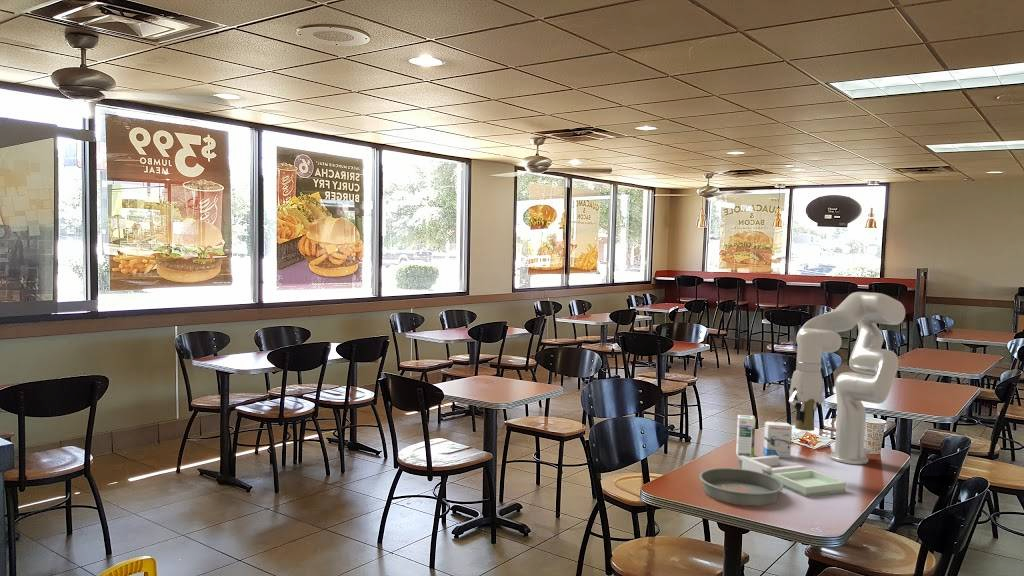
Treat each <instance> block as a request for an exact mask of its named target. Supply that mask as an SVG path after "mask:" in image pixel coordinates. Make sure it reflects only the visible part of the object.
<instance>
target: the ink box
mask: <svg viewBox="0 0 1024 576" xmlns="http://www.w3.org/2000/svg"><path fill="white" fill-rule="evenodd" d="M792 427H793V426H792V425H791V424H789V423H788V422H779V421H766V422H764V435H763V436H764V437H763V454H764V456H771V455H776V456H779V458H789V459H791V451H792V432H793V431H792V430H793V429H792Z"/></svg>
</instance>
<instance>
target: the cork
mask: <svg viewBox="0 0 1024 576" xmlns="http://www.w3.org/2000/svg"><path fill="white" fill-rule="evenodd" d="M799 404H800V405H801V403H799ZM804 404H805V405H804V412H805V417H804V423H802V420H799V421H798V420H797V422H795V426H794V428H795V429H796V430H800V431H805V432H806V431H807V432H808V431H809V432H812V431H815V417H814V418H813V406H814V404H815V401H814V399H809V400H808V401H807V402H804Z"/></svg>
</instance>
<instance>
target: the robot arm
mask: <svg viewBox="0 0 1024 576" xmlns="http://www.w3.org/2000/svg"><path fill="white" fill-rule="evenodd" d="M905 317H906V309H905V307H904V305H903V304H902V302H901V301H899V300H898V299H895V298H894V297H891V296H890V295H887V294H884V293H879V292H867V291H856V292H852V293H850V294H849V295H848V296H847V297H846V298H845V299H844V300H843V301H842V302H841V303H839V305H837V307H835V309H834V310H832V311H828V312H825V313H823V314H820V315H816V316H814V317H813V318H811V319H809V320H807V321H806V322H805V323H804V324H803V325H802V326H801V327H800V328H799V330H798V332H797V334H796V340H795V341H796V344H797V349H796V350H797V351H796V363H795V364H796V366H795V370H794V371H793V373H792V377H791V380H790V381H791V382H790V387H789V400H788V402H789V404H791V405H792V406H793V407H794V409H795V411H796V414H795V415H796V418H795V419H796V420H795V421H796V422H797V420H798V421H799V420H802V423H804V417H805V412H804V405H805V404H804V402H807V401H808V400H809V399H814V401H815V404H814V406H813V418H814V419H815V412H816V411H817V409H818V407H819V406H820V405H821V404H822V403H823V402H824V399H823V376H822V372H821V370H822V368H823V365H822V353H829V354H831V353H834V352H835V353H836V352H837V351H838V350H839V349H840V348H841V347H842V341H843V340H842V337H841V335H840V334H839V333H842V332H846V331H851V330H852V329H853V328H855V326H856V325H857V330H858V331H857V332H858V333H857V334H858V335H857V338H856V341H855V343H854V346H853V349H852V351H851V354H850V357H849V360H848V366H849V367H850V369H851V370H852V371H845V372H841V373H840V374H838V375H837V376H836V379H835V382H834V386H835V394H836V420H835V421H836V422H835V437H834V439H835V440H834V441H835V442H834V451H833V452H831V453H829V458H830V459H831V460H833V461H836V462H838V463H843V464H849V465H850V464H851V465H866V464H868V462H869V458H868V457H866V455H869V454H873V453H874V450H873V448H871V447H869V448H867V447H865V436H866V435H865V434H866V423H867V422H866V420H867V419H866V418H867V412H866V411H867V410H866V408H865V407H864V406H865V405H863V402H865V403H871V404H875V405H876V404H879V405H881V404H883V403H884V402H886V400H887V398H888V396H889V393H890V391H891V388H892V385H893V382H894V381H895V379H896V375H897V372H898V368H899V358H898V354H896V353H895V352H894V351H892V350H889V349H886V348H885V349H884V348H882V346H883V344H884V336H883V333H882V332H881V330H880V328H879V327H878V326H877V324H880V325H881V324H882V325H892V326H895V325H896V326H897V325H899V324H902V322H903V321H904V319H905ZM853 371H855V372H853ZM799 403H801V405H800V404H799ZM796 422H795V423H796Z"/></svg>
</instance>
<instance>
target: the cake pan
mask: <svg viewBox="0 0 1024 576" xmlns="http://www.w3.org/2000/svg"><path fill="white" fill-rule="evenodd" d="M698 477H699V479H700V481H701V482H702V485H703V486H702V487H703V489H704V493H705V494H707V495H708V496H709V497H711V498H713V499H715V500H718V501H721V502H724V501H725V503H728V504H734V505H739V504H740V505H741V506H749V505H753V506H754V505H756V506H767V505H771V504H773V503H775V502H776V501H777V499H778V496H779V494H780V492H781V491H782V490H783V489H784V488H783V487H784V485H783V483H782V482H781V481H780V480H778V479H777V478H775V477H772V476H770V475H767V474H764V473H760V472H756V471H751V470H745V469H740V468H738V467H737V468H736V467H735V468H733V467H719V468H718V467H717V468H715V467H714V468H709V469H706V470H703V471H702V472H700V473H699V476H698ZM722 485H724V486H725V487H726V489H724V488H723V486H722ZM740 485H742V486H744V487H742V486H740ZM729 487H730V488H731V490H729V489H728V488H729ZM735 487H737V488H740V489H741V490H743V489H744V488H745V487H746V489H747V490H746V492H742V491H741V490H740V491H736V490H738V489H736V488H735ZM749 487H750V489H749Z"/></svg>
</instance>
